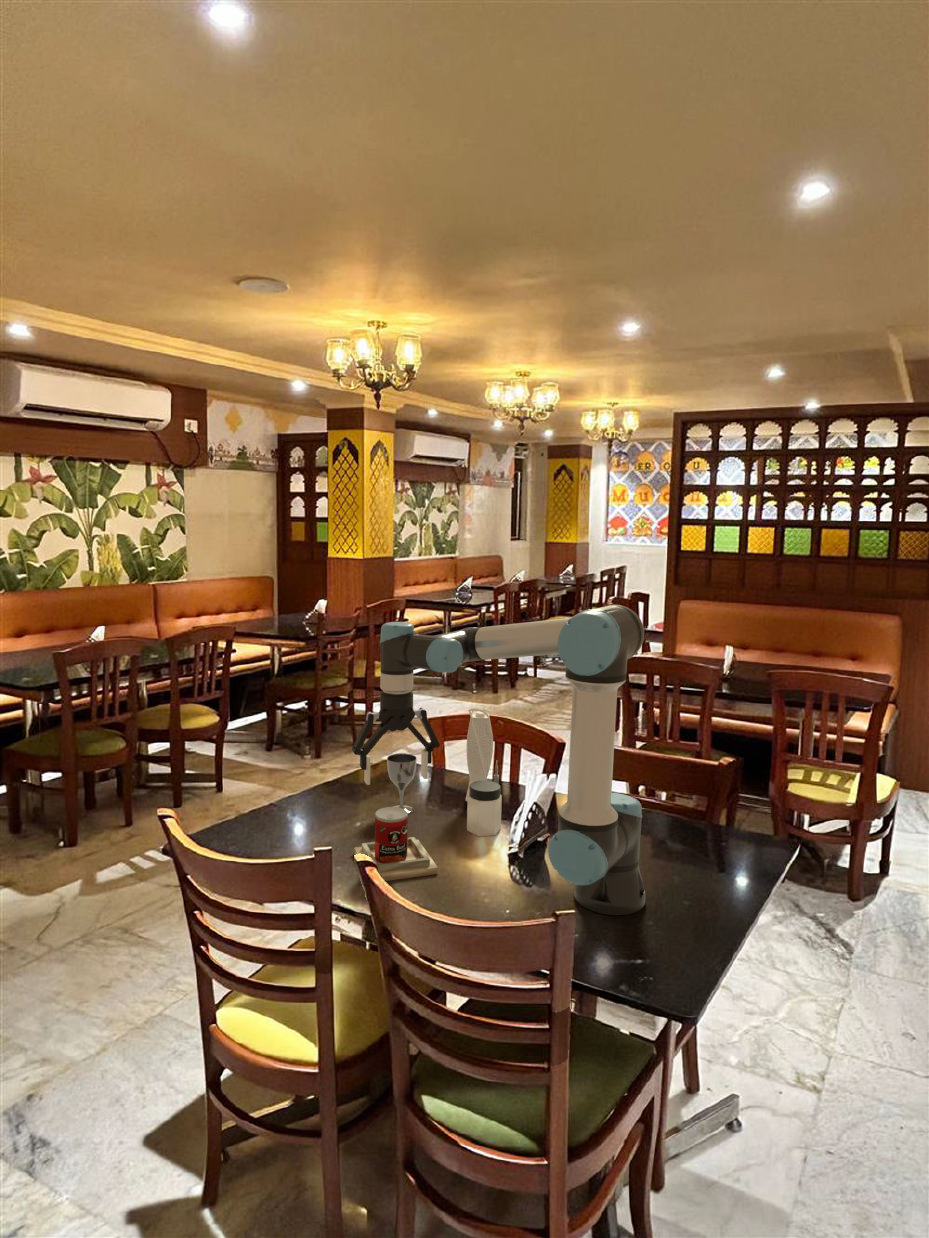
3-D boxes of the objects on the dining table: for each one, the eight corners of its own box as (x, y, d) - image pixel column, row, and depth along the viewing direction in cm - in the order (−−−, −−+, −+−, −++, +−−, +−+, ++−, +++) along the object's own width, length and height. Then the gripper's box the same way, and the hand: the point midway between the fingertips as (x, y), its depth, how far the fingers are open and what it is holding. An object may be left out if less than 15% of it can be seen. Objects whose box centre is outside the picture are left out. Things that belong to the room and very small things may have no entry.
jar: (507, 831, 209) (508, 787, 207) (483, 839, 203) (484, 794, 202) (484, 820, 215) (485, 777, 214) (460, 828, 210) (461, 784, 209)
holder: (437, 873, 184) (438, 861, 184) (369, 883, 179) (369, 870, 179) (418, 845, 199) (418, 833, 199) (354, 853, 194) (354, 841, 193)
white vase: (478, 810, 223) (480, 712, 219) (458, 801, 229) (461, 706, 225) (499, 803, 229) (502, 707, 225) (480, 795, 235) (483, 701, 231)
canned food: (377, 866, 184) (378, 821, 182) (372, 851, 191) (372, 807, 190) (410, 863, 186) (411, 818, 184) (403, 848, 193) (404, 805, 192)
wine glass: (382, 807, 223) (383, 755, 221) (409, 803, 227) (410, 751, 224) (392, 817, 216) (393, 763, 214) (420, 813, 219) (420, 760, 217)
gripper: (443, 683, 191) (442, 769, 194) (339, 689, 182) (339, 779, 185) (454, 690, 184) (452, 779, 187) (345, 697, 175) (345, 790, 178)
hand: (396, 780), depth 186 cm, fingers open, 13 cm apart
